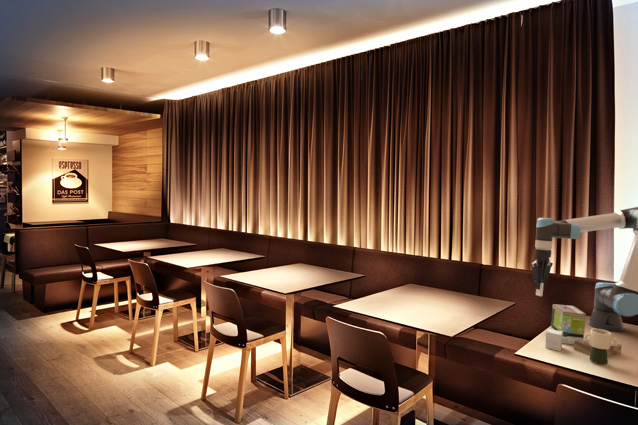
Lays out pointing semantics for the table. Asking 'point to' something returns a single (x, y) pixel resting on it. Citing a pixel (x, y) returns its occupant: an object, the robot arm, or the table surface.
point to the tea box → (568, 322)
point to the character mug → (599, 345)
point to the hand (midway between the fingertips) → (539, 295)
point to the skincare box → (554, 339)
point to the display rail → (587, 348)
